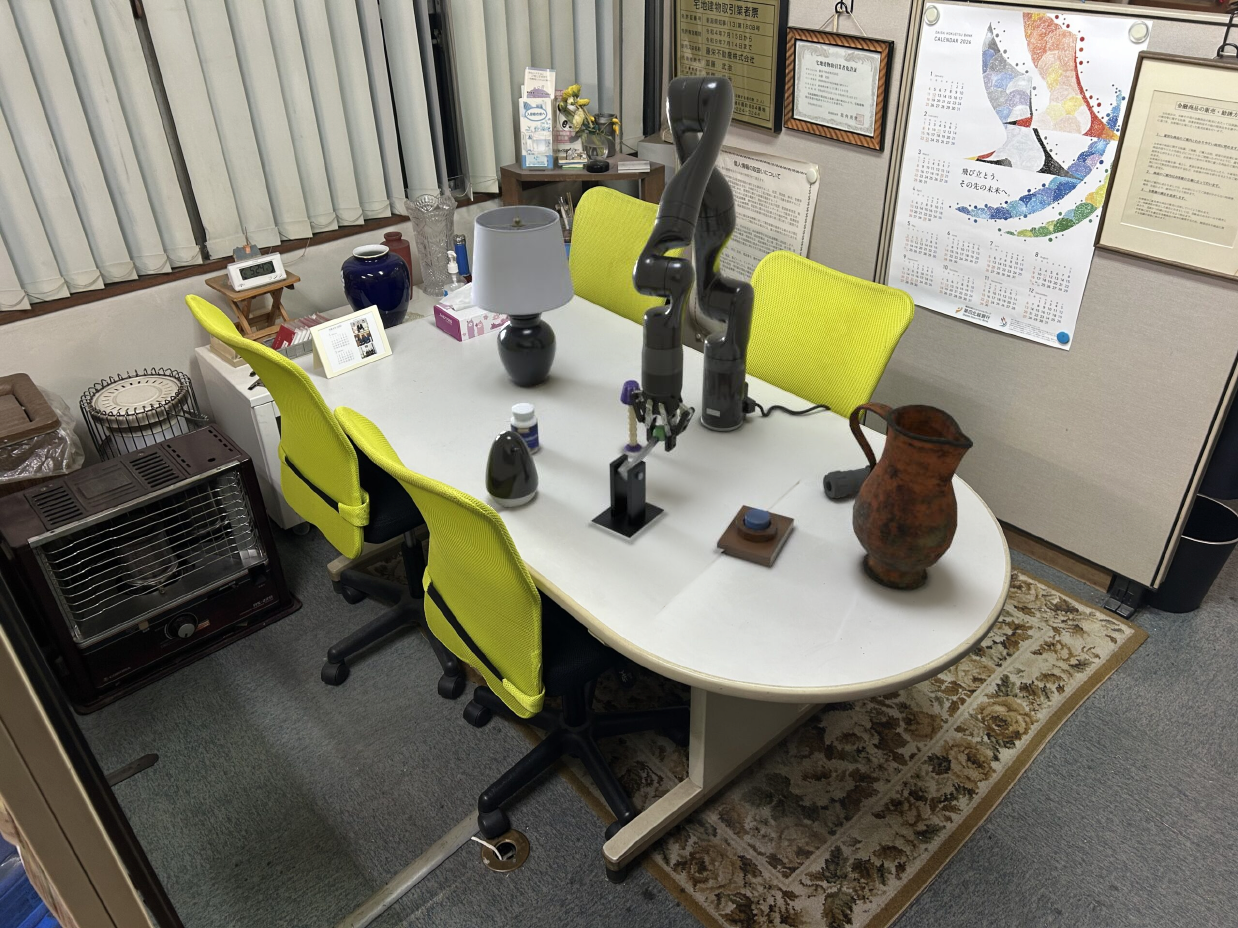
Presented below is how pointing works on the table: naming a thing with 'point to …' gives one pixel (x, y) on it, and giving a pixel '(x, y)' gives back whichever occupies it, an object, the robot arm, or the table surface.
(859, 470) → the flashlight
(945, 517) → the pitcher
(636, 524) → the switch bracket
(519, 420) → the pill bottle
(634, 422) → the toy lamp
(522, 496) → the black egg-shaped dome
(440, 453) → the table surface
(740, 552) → the button block
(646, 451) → the switch lever
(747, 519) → the light button
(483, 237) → the lamp
